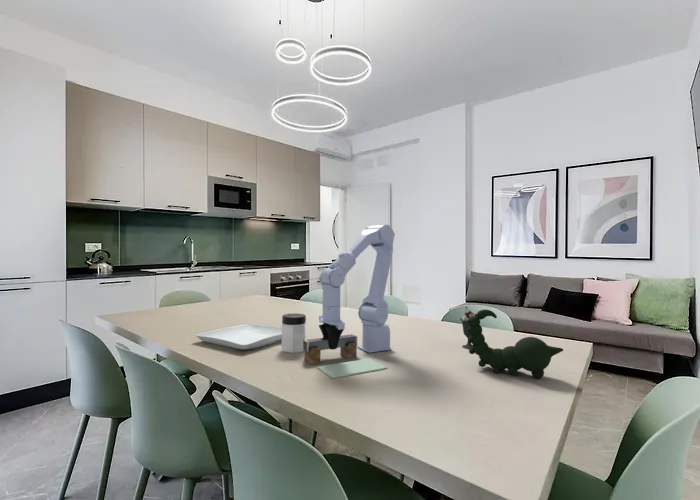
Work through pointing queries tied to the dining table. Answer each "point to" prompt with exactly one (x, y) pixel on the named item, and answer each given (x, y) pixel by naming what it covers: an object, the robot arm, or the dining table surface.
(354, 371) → the mat
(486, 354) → the toy figurine
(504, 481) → the dining table surface
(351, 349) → the post
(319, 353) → the post
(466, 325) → the sundae
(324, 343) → the rail
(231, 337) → the square plate
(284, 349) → the jar
